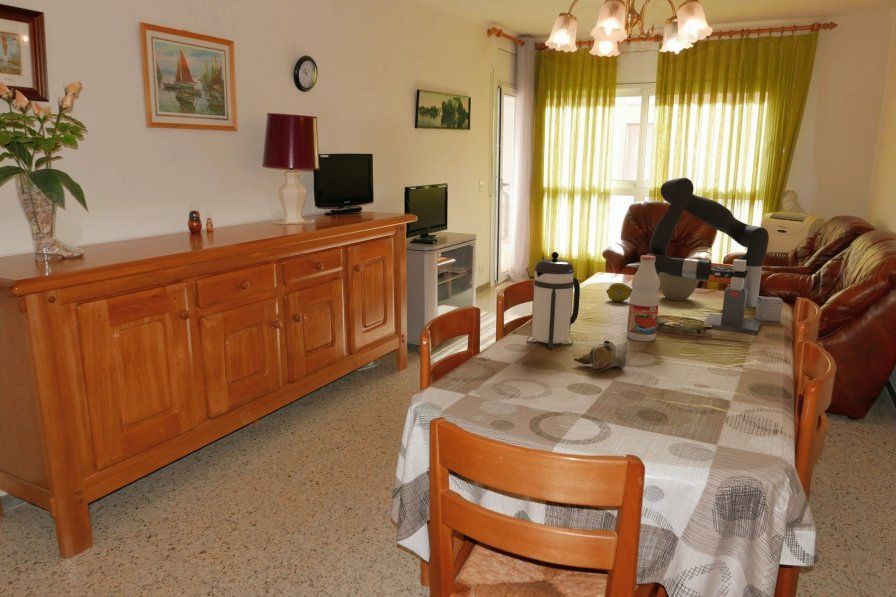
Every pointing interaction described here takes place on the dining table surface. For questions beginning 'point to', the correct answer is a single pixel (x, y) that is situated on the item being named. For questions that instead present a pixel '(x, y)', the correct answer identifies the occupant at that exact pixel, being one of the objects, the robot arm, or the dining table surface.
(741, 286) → the column
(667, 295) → the beige bowl
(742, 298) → the stand
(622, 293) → the lemon
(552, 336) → the coffee press
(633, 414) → the dining table surface
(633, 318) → the fruit juice
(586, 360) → the ceramic sculpture
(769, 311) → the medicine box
